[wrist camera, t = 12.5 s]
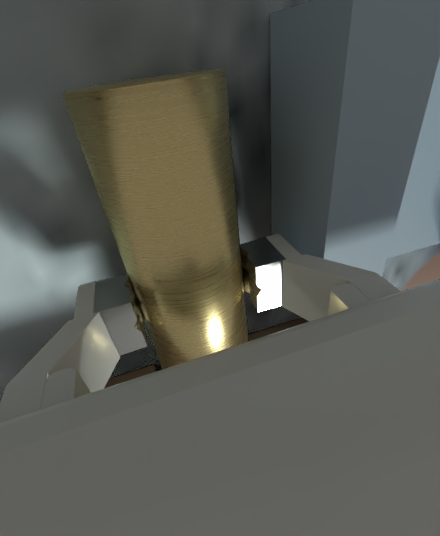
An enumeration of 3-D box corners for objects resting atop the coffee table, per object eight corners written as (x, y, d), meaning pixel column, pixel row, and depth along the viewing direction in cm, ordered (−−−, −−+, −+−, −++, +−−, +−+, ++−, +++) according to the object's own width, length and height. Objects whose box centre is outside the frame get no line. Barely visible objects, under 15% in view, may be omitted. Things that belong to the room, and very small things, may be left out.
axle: (201, 69, 8) (250, 69, 6) (238, 369, 17) (266, 431, 14) (69, 88, 8) (49, 99, 5) (175, 392, 16) (191, 462, 13)
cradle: (550, -17, 10) (722, -50, 7) (457, 221, 15) (536, 256, 13) (270, 14, 8) (355, -15, 5) (271, 273, 14) (315, 328, 11)
